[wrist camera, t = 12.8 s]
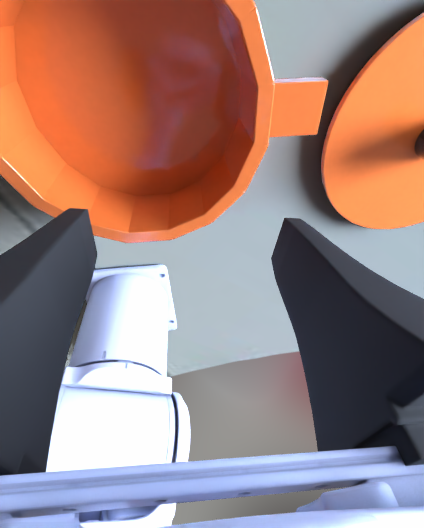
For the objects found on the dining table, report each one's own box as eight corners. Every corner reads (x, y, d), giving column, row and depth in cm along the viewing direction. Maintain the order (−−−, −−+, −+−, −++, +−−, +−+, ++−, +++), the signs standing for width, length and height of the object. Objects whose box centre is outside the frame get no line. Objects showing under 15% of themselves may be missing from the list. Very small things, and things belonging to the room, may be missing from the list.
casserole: (280, 192, 22) (301, 230, 18) (24, 209, 21) (-9, 253, 17) (323, -89, 12) (384, -128, 9) (-134, -81, 12) (-279, -121, 8)
